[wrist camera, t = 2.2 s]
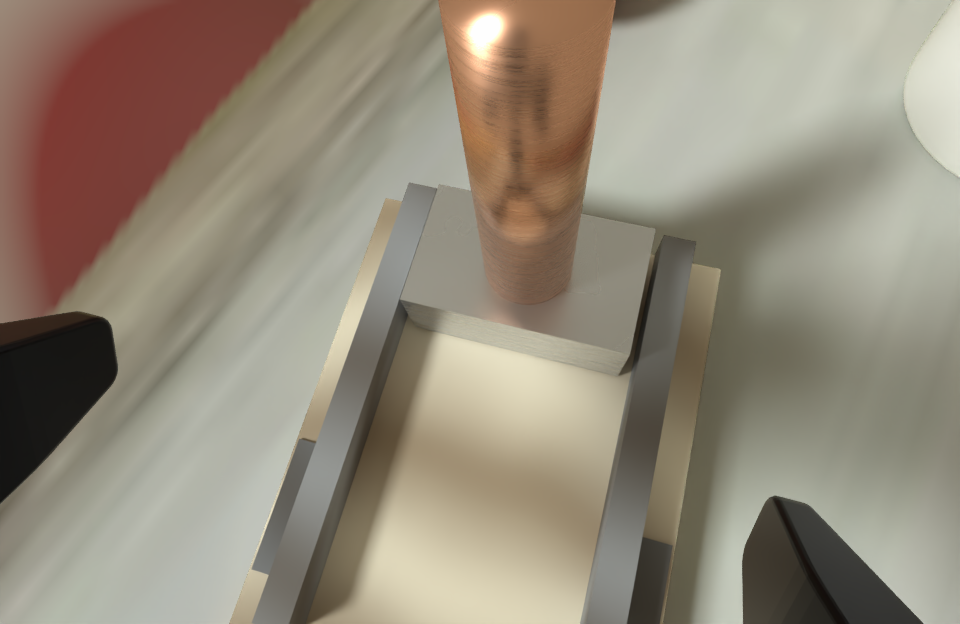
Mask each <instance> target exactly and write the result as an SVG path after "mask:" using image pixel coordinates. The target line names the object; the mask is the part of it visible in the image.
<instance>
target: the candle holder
mask: <svg viewBox="0 0 960 624" xmlns="http://www.w3.org/2000/svg"><path fill="white" fill-rule="evenodd" d="M903 100H904V107H905V112H906V116H907V119H908V121H909V124H910V126H911V128H912V130H913V132H914V134H915V136H916V137H917V139H918V140H919V142H920V143H921V144H922V146H923V147H924V148H925V149H926V151H927V152H928V153H929V154H930V155H931V156H932V157H933V158H934V159H935V160H936V161H937V162H938V163H939V164H941V165H942V166H943V167H944V168H946V169H947V170H948V171H950V172H951V173H952V174H954V175H955V176H957V177H959V178H960V0H953V1H952V2H951V4H950V5H949V6H948V8H947V9H946V11H945V12H944V14H943V15H942V16H941V18H940V19H939V21H938V22H937V24H936V25H935V26H934V28H933V29H932V31H931V32H930V34H929V35H928V37H927V38H926V40H925V41H924V43H923V44H922V46H921V47H920V49H919V50H918V52H917V53H916V55H915V57H914V59H913V60H912V62H911V64H910V66H909V69H908V71H907V74H906V77H905V82H904V89H903Z"/></svg>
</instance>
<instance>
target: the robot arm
mask: <svg viewBox="0 0 960 624" xmlns="http://www.w3.org/2000/svg"><path fill="white" fill-rule="evenodd" d="M117 372H118V363H117V357H116V351H115V344H114V338H113V332H112V327H111V325H110V323H109V322H108V320H106V319H105V318H103V317H100V316H96V315H92V314H89V313H85V312H78V311H76V312H68V313H62V314H56V315H50V316H44V317H38V318H31V319H25V320H19V321H13V322H7V323H0V504H1V503H2V502H3V501H4V500H5V499H6V498H7V497H8V496H9V495H10V494H11V493H12V492H14V491H15V490H16V489H17V488H18V487H19V486H20V485H21V484H22V483H23V482H24V481H25V480H26V479H27V478H28V477H29V476H30V475H31V474H32V473H33V472H34V471H35V470H36V469H37V468H38V467H39V466H40V465H41V464H42V463H43V462H44V461H45V460H46V459H47V458H48V456H49V455H50V454H51V453H52V452H53V451H54V450H55V449H56V448H57V446H58V445H59V444H60V443H61V442H62V441H63V440H64V439H65V437H66V436H67V435H68V434H69V433H70V432H71V431H72V430H73V428H74V427H75V426H76V425H77V424H78V423H79V422H80V420H81V419H82V418H83V417H84V416H85V415H86V414H87V413H88V411H89V410H90V409H91V408H92V407H93V406H94V405H95V404H96V402H97V401H98V400H99V399H100V398H101V397H102V396H103V395H104V393H105V392H106V391H107V390H108V389H109V388H110V387H111V385H112V384H113V382H114V381H115V379H116V376H117ZM742 582H743V624H923V623H922V621H921V620H920V619H919V618H918V617H917V616H916V615H915V614H914V613H913V612H912V611H911V610H910V609H909V608H908V607H907V606H906V605H905V604H904V603H903V602H902V601H901V600H900V599H899V598H898V597H897V596H896V595H895V593H894V592H893V591H892V590H891V589H890V588H889V587H888V586H887V585H886V584H885V583H884V582H883V581H882V580H881V579H880V578H879V577H878V576H877V575H876V574H875V573H874V572H873V571H872V570H871V569H870V568H869V566H868V565H867V564H866V563H865V562H864V561H863V560H862V559H861V558H860V557H859V556H858V555H857V554H856V553H855V552H854V551H853V550H852V549H851V548H850V547H849V546H848V545H847V544H846V543H845V542H844V541H843V540H842V538H841V537H840V536H839V535H838V534H837V533H836V532H835V531H834V530H833V529H832V528H831V527H830V526H829V525H828V524H827V523H826V522H825V521H824V520H823V519H822V518H821V517H820V516H819V515H818V514H817V513H816V512H815V510H814V509H812V508H811V507H810V506H809V505H807V504H805V503H802V502H798V501H794V500H791V499H787V498H783V497H779V496H773V497H770V498H769V499H768V500H767V501H766V502H765V504H764V506H763V508H762V510H761V512H760V514H759V516H758V519H757V521H756V523H755V525H754V527H753V529H752V531H751V534H750V536H749V538H748V540H747V542H746V545H745V548H744V553H743V560H742Z"/></svg>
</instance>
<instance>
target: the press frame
mask: <svg viewBox="0 0 960 624" xmlns="http://www.w3.org/2000/svg"><path fill="white" fill-rule="evenodd" d="M436 191H437V188H433V187H428V186H423V185H418V184H413V183H409V184H408V187H407V190H406V192H405V195H404V198H403V201H402V202H401V201H396V200H392V199H387V198H386V199H385V202H384V204H383V207H382V210H381V213H380V215H379V218H378V221H377V223H376V226H375V229H374V232H373V234H372V237H371V240H370V242H369V245H368V248H367V251H366V253H365V256H364V259H363V262H362V264H361V267H360V270H359V272H358V275H357V278H356V281H355V283H354V286H353V289H352V291H351V294H350V297H349V300H348V302H347V305H346V308H345V310H344V313H343V316H342V319H341V321H340V324H339V327H338V329H337V332H336V335H335V338H334V340H333V343H332V346H331V348H330V351H329V354H328V357H327V359H326V362H325V365H324V368H323V370H322V373H321V376H320V378H319V381H318V384H317V387H316V389H315V392H314V395H313V397H312V400H311V403H310V406H309V408H308V411H307V414H306V416H305V419H304V422H303V425H302V427H301V430H300V433H299V435H298V438H297V441H296V444H295V446H294V449H293V452H292V454H291V457H290V460H289V463H288V465H287V468H286V471H285V474H284V476H283V479H282V482H281V484H280V487H279V490H278V493H277V495H276V498H275V501H274V503H273V506H272V509H271V512H270V514H269V517H268V520H267V522H266V525H265V528H264V531H263V533H262V536H261V539H260V541H259V544H258V547H257V550H256V552H255V555H254V558H253V560H252V563H251V566H250V569H249V571H248V574H247V577H246V580H245V582H244V585H243V588H242V590H241V593H240V596H239V599H238V601H237V604H236V607H235V609H234V612H233V615H232V618H231V620H230V623H229V624H663V619H664V613H665V607H666V601H667V595H668V589H669V583H670V577H671V571H672V564H673V558H674V552H675V546H676V540H677V534H678V528H679V522H680V516H681V510H682V504H683V498H684V492H685V486H686V479H687V473H688V467H689V461H690V455H691V449H692V443H693V437H694V431H695V425H696V419H697V413H698V407H699V400H700V394H701V388H702V382H703V376H704V370H705V364H706V358H707V352H708V346H709V340H710V334H711V328H712V321H713V315H714V309H715V303H716V297H717V291H718V285H719V279H720V273H721V269H718V268H713V267H708V266H704V265H699V264H694V263H692V262H693V256H694V251H695V245H696V242H695V241H690V240H685V239H680V238H675V237H671V236H666V235H664V236H663V239H662V241H661V243H660V245H659V247H658V250H657V252H656V254H655V255H652V254H651V255H650V260H649V265H648V270H647V274H646V279H645V284H644V289H643V294H642V299H641V304H640V308H639V313H638V318H637V323H636V328H635V333H634V338H633V342H632V347H631V352H630V355H629V357H628V359H627V361H626V362H625V364H624V366H623V368H622V369H621V371H620V373H619V375H618V376H613V375H609V374H605V373H601V372H597V371H592V370H588V369H584V368H580V367H576V366H572V365H568V364H564V363H560V362H556V361H552V360H548V359H544V358H540V357H535V356H531V355H527V354H523V353H519V352H515V351H511V350H507V349H503V348H499V347H495V346H491V345H487V344H483V343H479V342H474V341H470V340H466V339H462V338H458V337H454V336H450V335H446V334H442V333H438V332H434V331H430V330H426V329H422V328H417V327H415V325H414V324H413V322H412V320H411V318H410V317H409V315H408V313H407V311H406V309H405V308H404V306H403V304H402V302H401V301H400V297H401V294H402V292H403V289H404V286H405V283H406V280H407V277H408V274H409V271H410V268H411V265H412V262H413V259H414V256H415V253H416V250H417V247H418V244H419V241H420V239H421V236H422V233H423V230H424V227H425V224H426V221H427V218H428V215H429V212H430V209H431V206H432V203H433V200H434V197H435V194H436Z"/></svg>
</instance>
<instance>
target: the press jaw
mask: <svg viewBox="0 0 960 624" xmlns="http://www.w3.org/2000/svg"><path fill="white" fill-rule="evenodd" d="M438 1H439V7H440V13H441V18H442V24H443V30H444V36H445V42H446V47H447V53H448V59H449V65H450V71H451V76H452V82H453V88H454V94H455V100H456V105H457V111H458V117H459V123H460V128H461V134H462V140H463V146H464V152H465V157H466V163H467V169H468V175H469V181H470V186H471V191H469V190H464V189H459V188H454V187H450V186H445V185H440V184H439V186H438V188H437V191H436V194H435V197H434V200H433V203H432V206H431V209H430V212H429V215H428V218H427V221H426V224H425V227H424V230H423V233H422V236H421V239H420V241H419V244H418V247H417V250H416V253H415V256H414V259H413V262H412V265H411V268H410V271H409V274H408V277H407V280H406V283H405V286H404V289H403V292H402V294H401V297H400V301H401V302H402V304H403V306H404V308H405V309H406V311H407V313H408V315H409V317H410V318H411V320H412V322H413V324H414V325H415V327H417V328H422V329H426V330H430V331H434V332H438V333H442V334H446V335H450V336H454V337H458V338H462V339H466V340H470V341H474V342H479V343H483V344H487V345H491V346H495V347H499V348H503V349H507V350H511V351H515V352H519V353H523V354H527V355H531V356H535V357H540V358H544V359H548V360H552V361H556V362H560V363H564V364H568V365H572V366H576V367H580V368H584V369H588V370H592V371H597V372H601V373H605V374H609V375H613V376H618V375H619V373H620V371H621V369H622V368H623V366H624V364H625V362H626V361H627V359H628V357H629V355H630V352H631V347H632V342H633V338H634V333H635V328H636V323H637V318H638V313H639V308H640V304H641V299H642V294H643V289H644V284H645V279H646V274H647V270H648V265H649V260H650V255H651V250H652V245H653V240H654V236H655V231H656V229H655V228H650V227H645V226H640V225H635V224H630V223H625V222H621V221H616V220H611V219H606V218H601V217H596V216H591V215H586V214H581V212H582V206H583V200H584V194H585V188H586V182H587V175H588V169H589V163H590V157H591V151H592V145H593V139H594V132H595V126H596V120H597V114H598V108H599V102H600V95H601V89H602V83H603V77H604V71H605V65H606V59H607V52H608V46H609V40H610V34H611V28H612V22H613V15H614V9H615V3H616V0H438Z"/></svg>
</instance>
